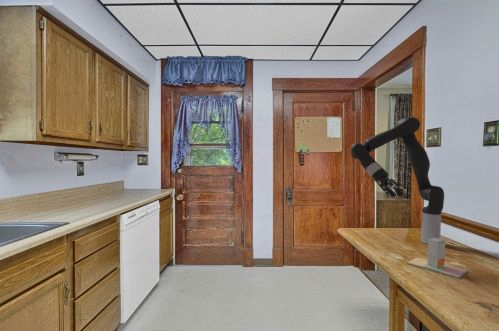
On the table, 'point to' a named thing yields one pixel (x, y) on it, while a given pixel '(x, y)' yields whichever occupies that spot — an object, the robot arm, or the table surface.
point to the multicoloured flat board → (442, 270)
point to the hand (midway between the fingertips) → (398, 195)
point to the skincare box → (436, 252)
